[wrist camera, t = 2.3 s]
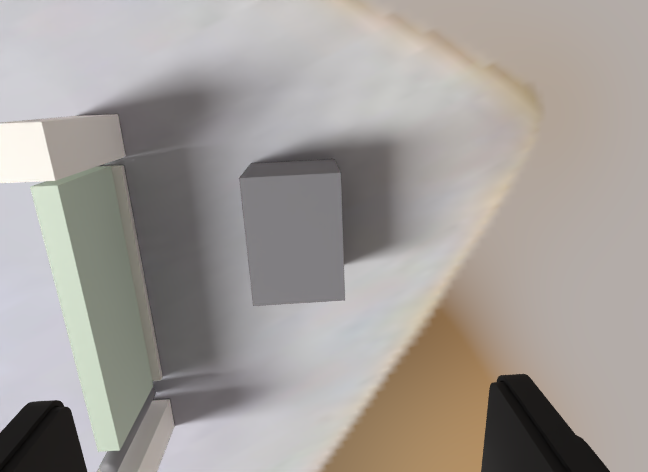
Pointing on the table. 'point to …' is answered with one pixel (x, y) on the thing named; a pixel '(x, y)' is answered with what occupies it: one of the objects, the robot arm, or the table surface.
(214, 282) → the table surface
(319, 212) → the block
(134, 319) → the door
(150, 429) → the door frame
